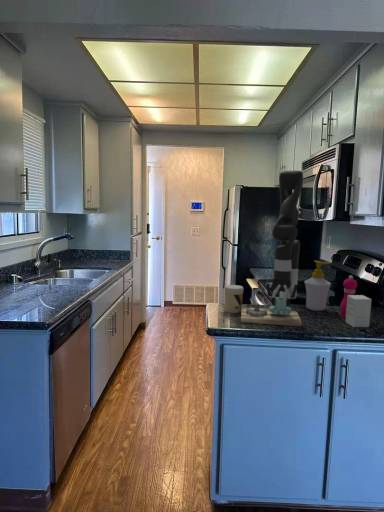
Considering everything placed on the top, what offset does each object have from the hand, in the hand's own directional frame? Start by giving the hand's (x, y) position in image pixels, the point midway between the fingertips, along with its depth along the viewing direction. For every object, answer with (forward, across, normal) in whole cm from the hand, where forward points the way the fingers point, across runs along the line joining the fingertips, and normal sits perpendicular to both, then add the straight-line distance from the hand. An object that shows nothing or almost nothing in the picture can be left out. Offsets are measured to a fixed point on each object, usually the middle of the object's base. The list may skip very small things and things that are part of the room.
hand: (280, 305), depth 159 cm
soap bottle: (+7, -20, -21) cm, 30 cm away
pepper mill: (+7, -32, -11) cm, 35 cm away
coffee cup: (+7, +22, -9) cm, 24 cm away
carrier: (+6, +4, 0) cm, 8 cm away
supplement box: (+7, -34, 0) cm, 34 cm away
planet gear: (+3, 0, 0) cm, 3 cm away
